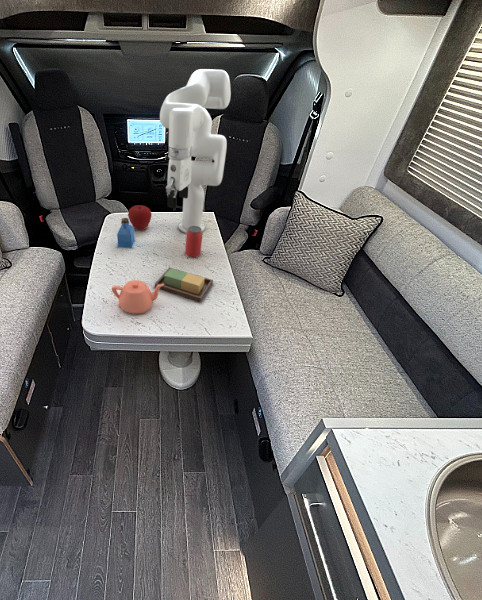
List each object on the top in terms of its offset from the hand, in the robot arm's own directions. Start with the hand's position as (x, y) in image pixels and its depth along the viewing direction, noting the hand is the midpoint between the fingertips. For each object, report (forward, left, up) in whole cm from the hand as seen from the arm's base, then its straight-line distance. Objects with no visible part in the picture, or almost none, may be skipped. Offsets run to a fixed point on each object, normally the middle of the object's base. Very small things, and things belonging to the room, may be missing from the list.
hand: (177, 202), depth 121 cm
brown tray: (+9, +8, -28) cm, 31 cm away
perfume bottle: (-8, -28, -28) cm, 41 cm away
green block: (+9, +5, -28) cm, 30 cm away
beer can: (-14, +2, -28) cm, 32 cm away
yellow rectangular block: (+9, +12, -28) cm, 31 cm away
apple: (-24, -30, -28) cm, 48 cm away
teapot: (+26, -2, -28) cm, 39 cm away
